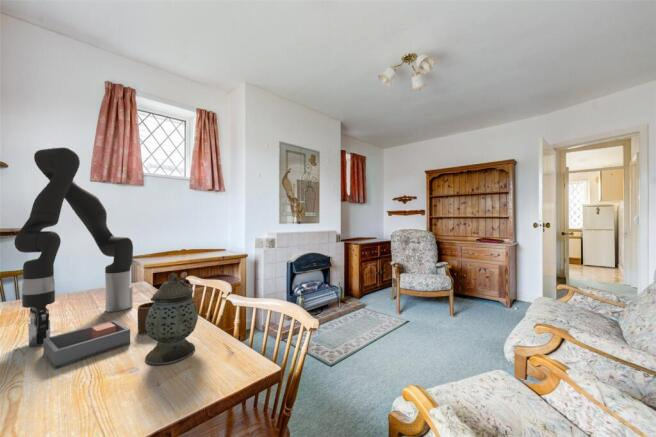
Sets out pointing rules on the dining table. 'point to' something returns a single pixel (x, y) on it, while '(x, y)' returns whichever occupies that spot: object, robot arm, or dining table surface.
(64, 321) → the dining table surface
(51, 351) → the tote
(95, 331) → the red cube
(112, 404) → the dining table surface
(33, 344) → the steel cylinder
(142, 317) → the mug
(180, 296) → the lantern
